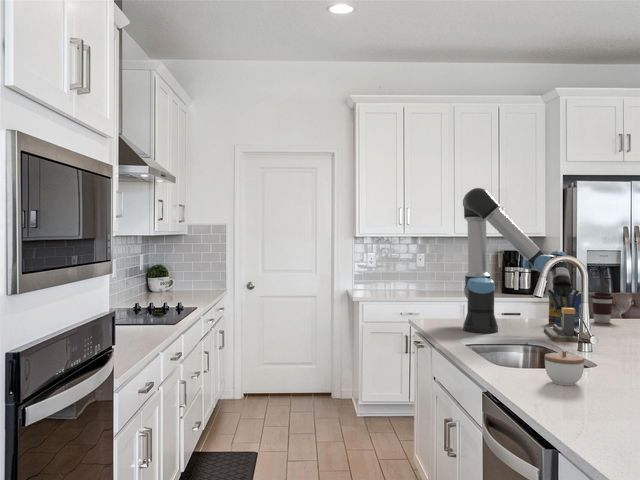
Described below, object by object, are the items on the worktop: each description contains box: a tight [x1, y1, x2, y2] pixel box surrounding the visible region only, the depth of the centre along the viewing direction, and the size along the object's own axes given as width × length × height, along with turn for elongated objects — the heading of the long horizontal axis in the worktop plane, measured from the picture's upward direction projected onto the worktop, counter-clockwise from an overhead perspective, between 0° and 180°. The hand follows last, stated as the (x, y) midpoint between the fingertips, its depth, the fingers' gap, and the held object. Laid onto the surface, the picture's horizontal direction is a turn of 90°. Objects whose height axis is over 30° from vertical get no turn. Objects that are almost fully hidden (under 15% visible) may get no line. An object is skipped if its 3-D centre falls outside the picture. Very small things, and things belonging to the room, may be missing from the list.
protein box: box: [548, 291, 581, 326], centre depth 283 cm, size 10×15×16 cm
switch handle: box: [561, 308, 575, 336], centre depth 241 cm, size 5×5×11 cm
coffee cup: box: [590, 291, 614, 324], centre depth 289 cm, size 10×10×15 cm
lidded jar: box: [544, 350, 585, 387], centre depth 168 cm, size 11×11×9 cm
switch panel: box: [543, 324, 579, 343], centre depth 247 cm, size 14×26×4 cm, turn 166°
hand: (567, 322), depth 244 cm, fingers closed
